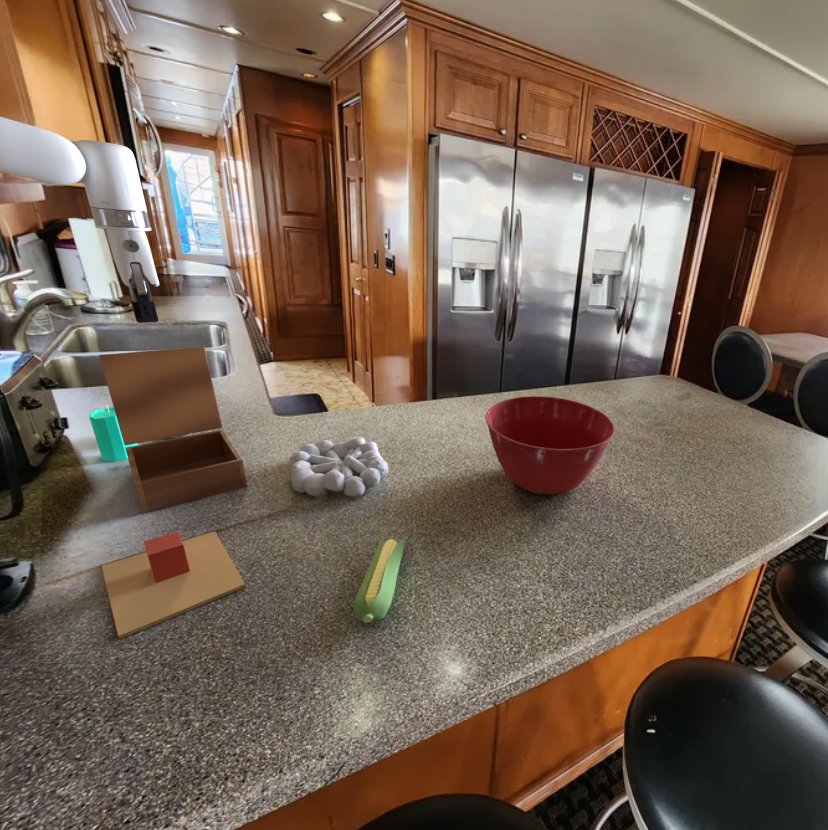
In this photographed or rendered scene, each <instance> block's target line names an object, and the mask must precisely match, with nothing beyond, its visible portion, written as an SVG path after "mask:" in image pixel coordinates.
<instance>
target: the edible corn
mask: <svg viewBox="0 0 828 830" xmlns="http://www.w3.org/2000/svg"><path fill="white" fill-rule="evenodd" d="M384 540H385V535H384V533H383V532H382V534H381V536H380V539H379V541H378V542H377V543H378V544H377V546H376V549H375V552H374V553H373V556H372V559H371V561H370V563H369V566H368V568H367V570H366V574H365V575H364V577H363V580H362V582H361V584H360V587H359V589H358V591H357V594H356V596H355V598H354V605H353V606H354V607H353V614H354V616H355V618H356V619H357V620H358V621H359V622H363V623H365V624H366V623H367V624H369V623H375V622H379V621H381V620H383V619H385V617H386V616H387V615H388V613H389V609H390V607H391V605H392V602H393V598H394V594H395V590H396V586H397V585H396V584H397V579H398V575H399V569H400V566H401V561H402V557H403V552H404V548H405V545H406V540H407V538H401V540H399V539H397V538H396V539H393V538H392V539H391V538H390V539H388V540H386V541H384Z"/></svg>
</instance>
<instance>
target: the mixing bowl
mask: <svg viewBox="0 0 828 830" xmlns="http://www.w3.org/2000/svg"><path fill="white" fill-rule="evenodd" d="M485 421H486V423H485V424H486V425H487V427H488V432H489V435H490V439H491V443H492V447H493V449H494V452H495V455H496V457H497V460H498V462H499V465H500V466H501V468H502V470H503V472H504V473H505V475H506V477H508V479H510V480H511V481H512V482H513V483H514V484H515V485H517V486H518V487H520V488H522V489H524V490H526V491H528V492H530V493H533V494H539V495H558V494H561V493H566V492H569V491H571V490H573V489H575V488H577V487H578V486H580V485H581V484H582V483H583V482H584V481H585V480H586V479H587V478H588V477H589V476H590V475H591V474H592V472H593V470H594V469H595V468H596V466H597V465H598V464H599V462H600V460H601V458H602V457H603V455H604V454H605V452H606V450H607V447H608V445H609V444H610V441H611V439H612V438H613V437H614V435H615V430H616V428H615V424H614V423H613V421H612V420H611V419H610V417H609V416H607V415H606V414H605V413H604V412H602V411H600V409H597V408H595V407H592V406H590V405H589V404H586V403H582V402H580V401H575V400H571V399H567V398H561V397H556V396H555V397H554V396H543V395H542V396H541V395H532V396H531V395H529V396H518V397H512V398H507V399H504V400H501V401H499V402H497V403H494V404H493V405H492V406H490V408H488V410H487V411H486V413H485Z"/></svg>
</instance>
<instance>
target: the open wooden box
mask: <svg viewBox="0 0 828 830" xmlns="http://www.w3.org/2000/svg"><path fill="white" fill-rule="evenodd" d="M125 448H126V452H127V456H128V459H127V460H128V463H129V467H130V472H131V475H132V479H133V482H134V486H135V489H136V493H137V497H138V500H139V503H140V507H141V510H142V514H143V515H146V514H149V513H153V512H157V511H161V510H165V509H169V508H172V507H177V506H180V505H184V504H188V503H192V502H196V501H199V500H203V499H207V498H211V497H215V496H218V495H222V494H226V493H230V492H234V491H238V490H241V489H245V488H248V481H247V476H246V469H245V465H244V460H243V458H242V457H241V455H240V454H239V452H238V451H237V450H236V447H235V446H234V445H233V443H232V442H231V440H230V439H229V437H228V436H227V435H226V433H225V431H224V430H223V429H219V430H218V429H217V430H211V431H206V432H200V433H195V434H191V435H189V436H185V437H180V438H169V439H165V440H164V439H162V440H157V441H151V442H146V443H141V444H138V445H136V446H131V447H125Z"/></svg>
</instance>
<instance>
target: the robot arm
mask: <svg viewBox="0 0 828 830" xmlns="http://www.w3.org/2000/svg"><path fill="white" fill-rule="evenodd" d="M0 173H5V174H9V175H12V176H17V177H21V178H27V179H30V180H35V181H37V182H41V183H44V184H49V185H56V186H69V185H73V184H82V185H83V186H84V190H85V193H86V197H87V201H88V205H89V207H90V212H91V215H92V219H93V222H94V226H95V228H96V229H101V230H103V229H104V230H105V233H106V237H107V241H108V244H109V248H110V251H111V254H112V258H113V260H114V263H115V266H116V269H117V272H118V274H119V276H120V279H121V281H122V282H123V284H124V285H125V286H126V287H128V289H129V294H130V297H131V300H130V303H131V306H132V310H133V315H134V318H135V321H136V322H137V323H138V324H146V323H147V324H148V323H158V322H159V317H158V312H157V309H156V303H155V300H153V297H152V292H151V287H150V285H153V286H154V287H155V288H157V287H159V286H160V281H159V278H158V274H157V269H156V266H155V262H154V258H153V254H152V250H151V247H150V244H149V240H148V236H147V234H146V232H150V231H152V226H151V222H150V218H149V213H148V209H147V204H146V201H145V197H144V196H145V195H144V193H143V192H144V191H143V188H142V183H141V179H140V174H139V170H138V166H137V160H136V158H135V155H134V153H133V151H132V150H131V149H130V148H128V147H127V146H126V145H125V146H124V145H123V144H118V143H114V142H113V143H112V142H106V141H99V140H90V139H80V140H72V139H67V138H66V137H64V136H62V135H61V134H58V133H56V132H53V131H51V130H48V129H44V128H42V127H39V126H38V127H37V126H35V125H34V126H33V125H31V124H27V123H24V122H20V121H17V120H14V119H10V118H7V117H3V116H0ZM149 283H150V284H149Z"/></svg>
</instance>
